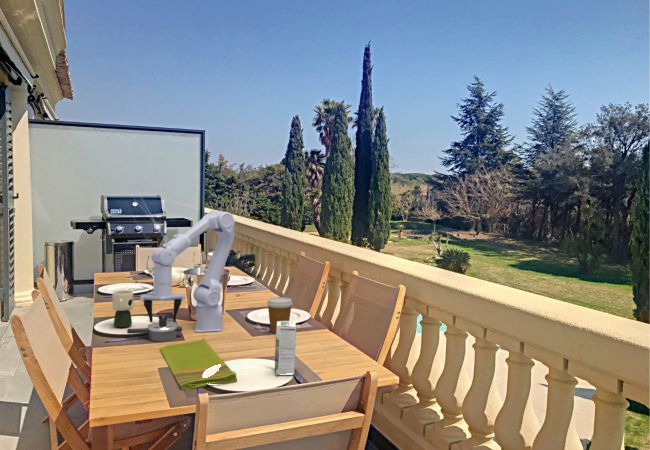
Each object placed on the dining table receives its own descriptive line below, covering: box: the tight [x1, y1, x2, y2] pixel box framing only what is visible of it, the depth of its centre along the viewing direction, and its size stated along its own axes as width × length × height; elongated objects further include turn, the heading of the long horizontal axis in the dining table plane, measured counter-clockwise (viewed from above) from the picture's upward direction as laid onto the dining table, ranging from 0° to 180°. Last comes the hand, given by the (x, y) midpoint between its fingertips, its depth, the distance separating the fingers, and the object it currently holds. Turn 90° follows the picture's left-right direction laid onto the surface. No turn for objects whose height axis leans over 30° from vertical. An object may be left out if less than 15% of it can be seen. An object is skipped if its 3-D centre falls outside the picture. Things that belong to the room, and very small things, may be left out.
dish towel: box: [159, 337, 238, 390], centre depth 153 cm, size 15×36×3 cm, turn 27°
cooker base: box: [126, 326, 183, 342], centre depth 178 cm, size 18×9×4 cm, turn 104°
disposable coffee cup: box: [266, 296, 293, 335], centre depth 189 cm, size 10×10×12 cm
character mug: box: [112, 289, 134, 329], centre depth 190 cm, size 11×7×13 cm, turn 13°
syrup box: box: [274, 320, 297, 377], centre depth 149 cm, size 6×6×14 cm
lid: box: [147, 314, 179, 332], centre depth 178 cm, size 10×10×5 cm
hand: (162, 321), depth 178 cm, fingers open, 7 cm apart
